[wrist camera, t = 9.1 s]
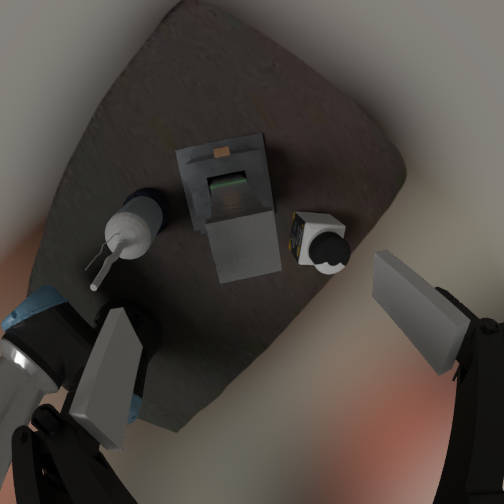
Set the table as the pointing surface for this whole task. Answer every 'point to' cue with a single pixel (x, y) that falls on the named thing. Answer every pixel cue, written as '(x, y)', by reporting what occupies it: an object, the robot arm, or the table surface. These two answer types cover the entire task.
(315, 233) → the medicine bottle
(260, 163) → the stand housing
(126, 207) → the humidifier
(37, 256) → the table surface
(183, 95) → the table surface
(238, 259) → the column
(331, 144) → the table surface
